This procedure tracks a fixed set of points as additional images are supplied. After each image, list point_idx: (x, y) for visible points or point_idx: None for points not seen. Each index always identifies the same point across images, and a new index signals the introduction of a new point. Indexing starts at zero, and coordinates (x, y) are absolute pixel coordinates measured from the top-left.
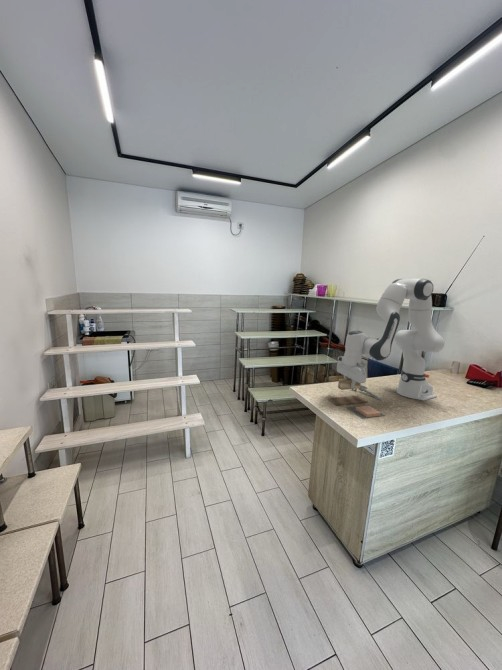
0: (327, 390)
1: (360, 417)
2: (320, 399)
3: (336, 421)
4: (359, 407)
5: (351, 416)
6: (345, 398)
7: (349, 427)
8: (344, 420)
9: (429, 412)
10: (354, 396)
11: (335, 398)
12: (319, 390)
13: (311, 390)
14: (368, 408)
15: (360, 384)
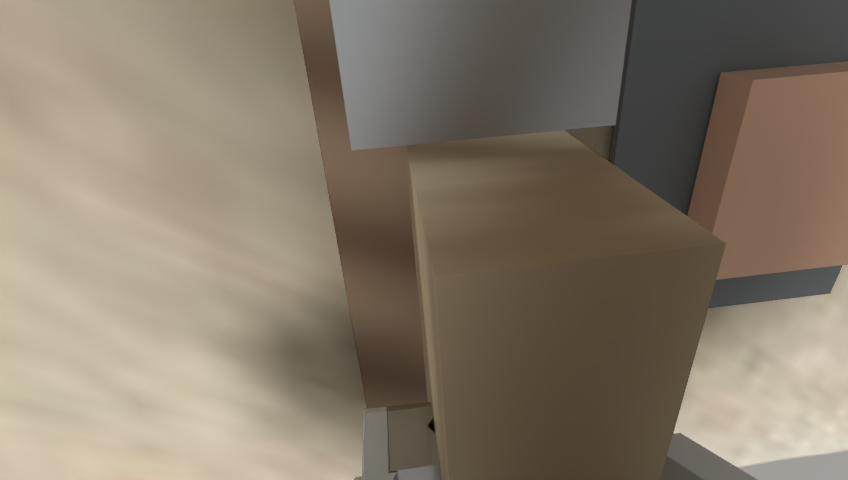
0: (35, 305)
1: (805, 294)
2: (348, 453)
3: (732, 463)
4: (728, 249)
5: (733, 344)
6: (400, 244)
7: (835, 422)
8: (751, 415)
9: None
10: (332, 50)
11: (388, 359)
12: (66, 395)
13: (92, 467)
14: (805, 151)
15: (608, 163)
